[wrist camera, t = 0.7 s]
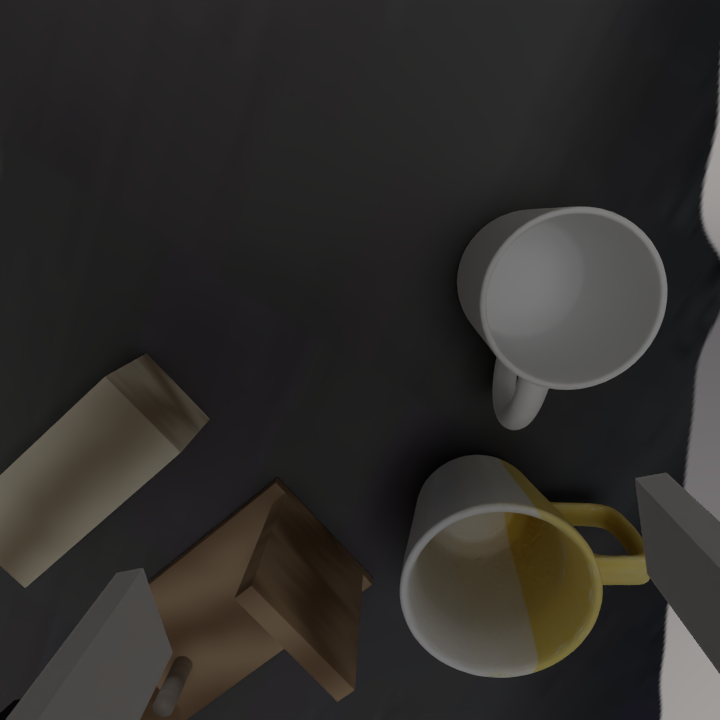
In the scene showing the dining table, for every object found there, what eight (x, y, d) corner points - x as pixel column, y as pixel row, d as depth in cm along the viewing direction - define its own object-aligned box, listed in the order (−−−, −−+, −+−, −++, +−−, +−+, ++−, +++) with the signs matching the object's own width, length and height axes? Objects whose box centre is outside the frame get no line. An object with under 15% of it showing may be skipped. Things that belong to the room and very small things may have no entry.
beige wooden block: (13, 478, 41) (-49, 521, 35) (147, 352, 39) (105, 376, 33) (75, 536, 42) (25, 588, 36) (211, 418, 39) (180, 452, 34)
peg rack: (88, 629, 44) (-9, 763, 33) (277, 477, 40) (237, 572, 29) (182, 716, 45) (118, 871, 34) (372, 577, 41) (366, 702, 31)
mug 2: (386, 554, 41) (385, 665, 31) (409, 418, 39) (417, 490, 28) (579, 583, 41) (642, 704, 31) (614, 449, 38) (696, 532, 28)
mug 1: (549, 410, 38) (606, 479, 28) (425, 382, 38) (438, 441, 28) (608, 226, 35) (696, 230, 25) (474, 195, 35) (509, 187, 25)
